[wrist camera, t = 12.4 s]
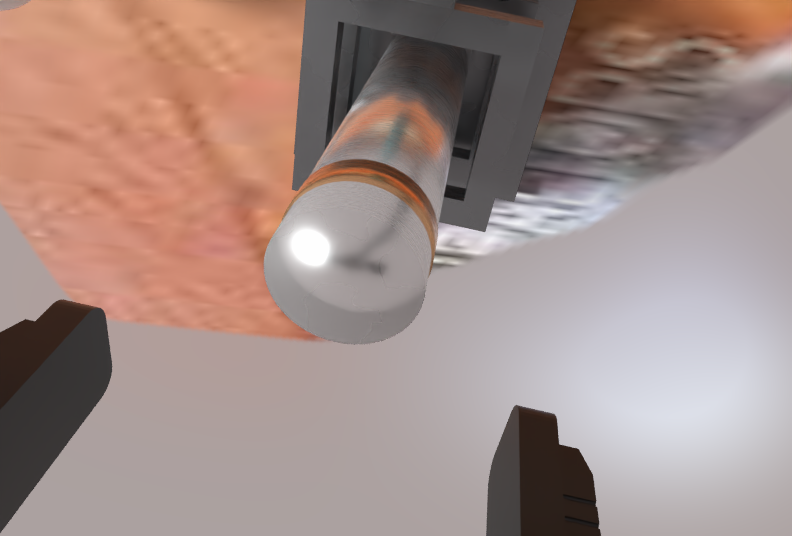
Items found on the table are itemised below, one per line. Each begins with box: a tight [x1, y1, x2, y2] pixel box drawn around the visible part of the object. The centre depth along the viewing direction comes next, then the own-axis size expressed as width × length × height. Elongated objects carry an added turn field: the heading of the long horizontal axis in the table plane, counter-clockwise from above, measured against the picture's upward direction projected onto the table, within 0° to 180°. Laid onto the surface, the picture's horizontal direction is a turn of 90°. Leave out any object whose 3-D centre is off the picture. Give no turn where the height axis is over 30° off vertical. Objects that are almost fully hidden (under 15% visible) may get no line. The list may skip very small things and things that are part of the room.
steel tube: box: [264, 34, 468, 344], centre depth 23 cm, size 4×4×18 cm
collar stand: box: [292, 0, 576, 232], centre depth 28 cm, size 12×12×8 cm
